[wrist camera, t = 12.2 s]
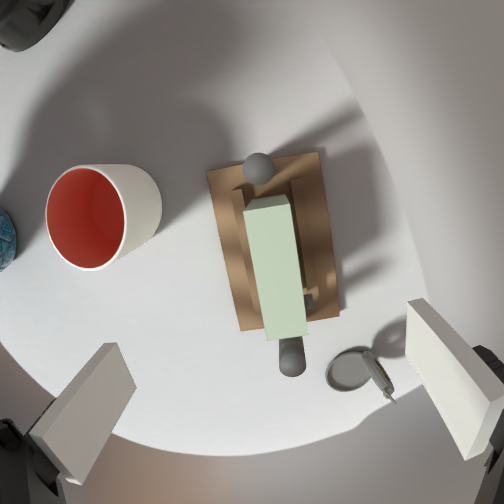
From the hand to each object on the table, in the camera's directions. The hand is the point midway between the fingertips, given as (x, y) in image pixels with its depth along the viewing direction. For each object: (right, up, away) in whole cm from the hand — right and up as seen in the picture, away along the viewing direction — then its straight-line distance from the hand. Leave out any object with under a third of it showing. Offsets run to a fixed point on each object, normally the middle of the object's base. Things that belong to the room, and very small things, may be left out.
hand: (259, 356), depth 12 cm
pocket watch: (+14, -11, +26) cm, 31 cm away
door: (+2, +5, +21) cm, 22 cm away
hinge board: (+2, +5, +22) cm, 23 cm away
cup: (-15, +10, +22) cm, 29 cm away
